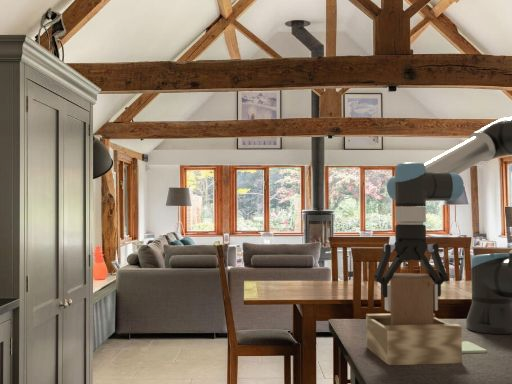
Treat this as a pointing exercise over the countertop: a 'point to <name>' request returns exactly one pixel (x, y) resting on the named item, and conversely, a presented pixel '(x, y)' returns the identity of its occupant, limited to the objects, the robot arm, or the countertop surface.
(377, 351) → the crate
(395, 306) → the wooden block
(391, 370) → the countertop surface
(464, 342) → the mat
